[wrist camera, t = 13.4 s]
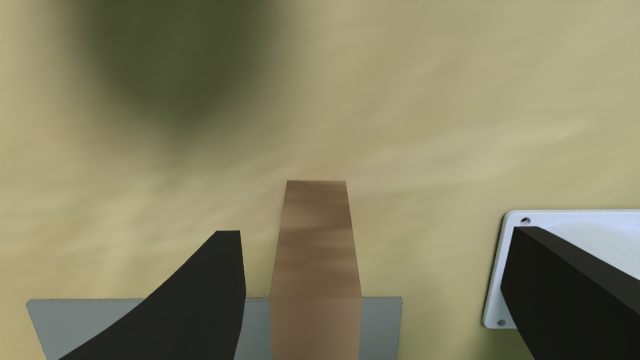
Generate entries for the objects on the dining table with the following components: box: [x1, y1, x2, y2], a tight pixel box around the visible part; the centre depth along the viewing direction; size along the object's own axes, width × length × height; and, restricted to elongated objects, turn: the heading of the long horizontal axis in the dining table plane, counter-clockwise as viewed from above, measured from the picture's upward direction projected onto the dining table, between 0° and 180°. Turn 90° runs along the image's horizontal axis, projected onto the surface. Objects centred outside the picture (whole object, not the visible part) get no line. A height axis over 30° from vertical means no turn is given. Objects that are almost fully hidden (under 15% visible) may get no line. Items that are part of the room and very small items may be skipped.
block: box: [269, 181, 362, 360], centre depth 18 cm, size 3×3×9 cm
